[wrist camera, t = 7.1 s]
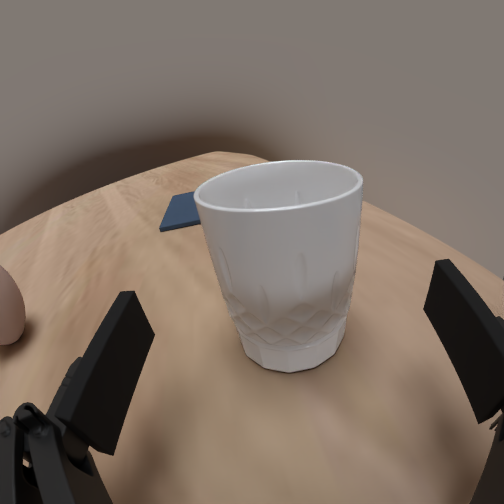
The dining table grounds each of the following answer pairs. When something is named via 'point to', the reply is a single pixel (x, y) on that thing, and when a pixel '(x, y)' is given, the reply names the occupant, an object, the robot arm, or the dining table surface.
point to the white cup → (285, 255)
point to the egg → (10, 309)
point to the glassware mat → (180, 212)
